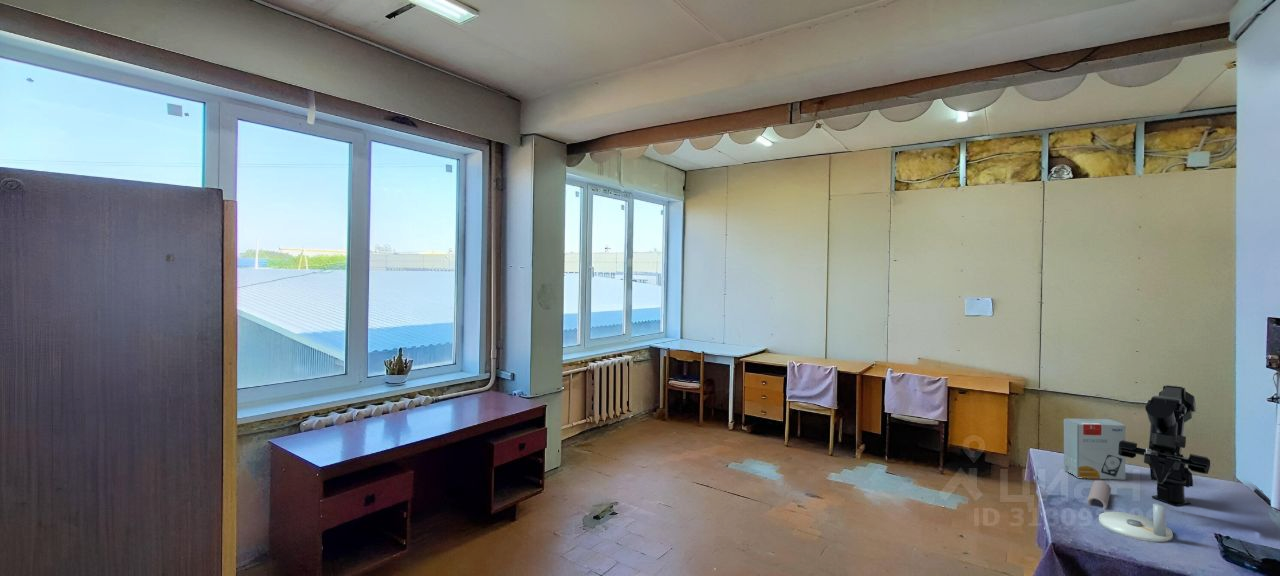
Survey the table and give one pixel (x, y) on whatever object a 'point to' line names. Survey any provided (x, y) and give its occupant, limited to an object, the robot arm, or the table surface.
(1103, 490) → the coil
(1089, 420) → the hard drive box
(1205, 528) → the table surface
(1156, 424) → the robot arm
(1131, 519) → the desk lamp base
